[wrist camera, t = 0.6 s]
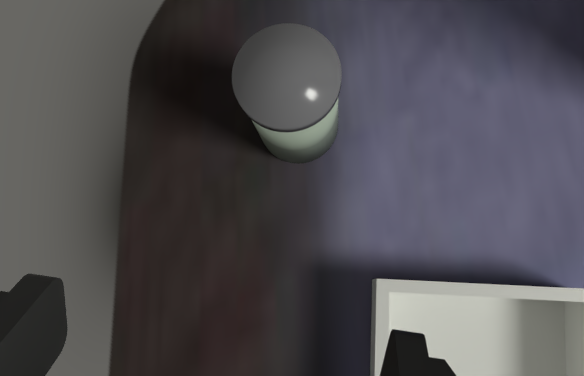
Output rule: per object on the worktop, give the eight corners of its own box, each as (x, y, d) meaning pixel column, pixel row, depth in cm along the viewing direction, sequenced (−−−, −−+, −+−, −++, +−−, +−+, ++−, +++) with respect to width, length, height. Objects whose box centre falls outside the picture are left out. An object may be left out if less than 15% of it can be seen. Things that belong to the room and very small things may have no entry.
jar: (306, 69, 42) (296, 3, 32) (358, 131, 41) (364, 82, 31) (240, 118, 42) (210, 67, 32) (290, 182, 41) (275, 149, 31)
